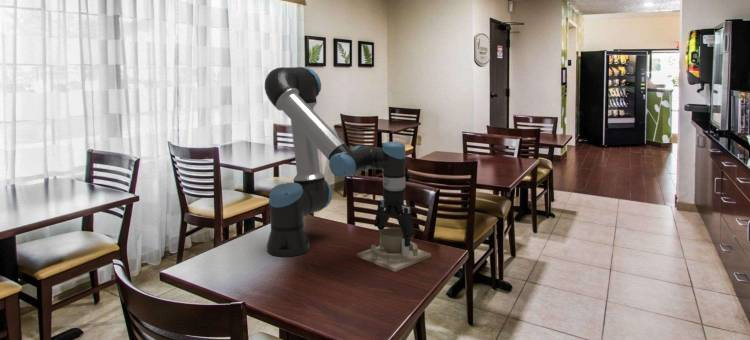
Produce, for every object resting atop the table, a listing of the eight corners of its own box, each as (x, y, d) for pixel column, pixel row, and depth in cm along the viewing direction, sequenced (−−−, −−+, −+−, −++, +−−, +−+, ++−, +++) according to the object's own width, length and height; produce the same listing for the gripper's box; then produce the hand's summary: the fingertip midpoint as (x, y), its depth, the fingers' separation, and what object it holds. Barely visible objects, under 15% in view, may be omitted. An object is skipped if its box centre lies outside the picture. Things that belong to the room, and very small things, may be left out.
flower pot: (406, 258, 165) (406, 237, 164) (376, 256, 167) (376, 235, 166) (410, 247, 175) (410, 228, 173) (382, 245, 177) (382, 226, 175)
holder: (357, 256, 172) (357, 246, 171) (393, 243, 184) (393, 234, 183) (394, 271, 159) (394, 260, 158) (431, 256, 171) (431, 246, 170)
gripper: (363, 184, 172) (364, 245, 176) (411, 196, 156) (410, 262, 160) (378, 181, 177) (379, 240, 181) (427, 192, 161) (425, 256, 165)
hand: (394, 250), depth 171 cm, fingers closed on flower pot, 10 cm apart
